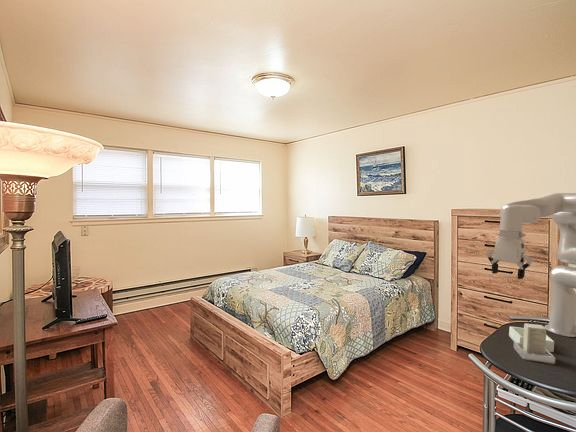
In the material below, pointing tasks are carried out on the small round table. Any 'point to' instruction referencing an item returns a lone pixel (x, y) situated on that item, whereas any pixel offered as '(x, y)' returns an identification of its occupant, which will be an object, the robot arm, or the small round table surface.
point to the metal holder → (534, 357)
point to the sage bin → (518, 335)
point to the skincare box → (534, 339)
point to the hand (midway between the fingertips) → (507, 275)
